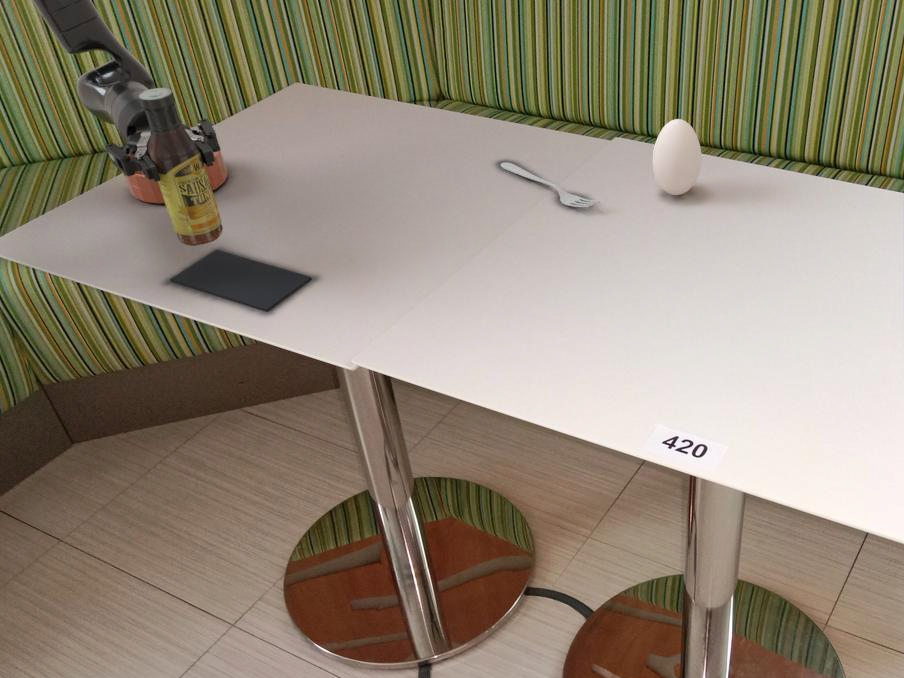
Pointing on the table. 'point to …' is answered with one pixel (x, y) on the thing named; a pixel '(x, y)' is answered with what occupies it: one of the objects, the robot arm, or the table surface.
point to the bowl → (152, 191)
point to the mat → (241, 280)
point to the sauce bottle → (180, 171)
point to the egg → (677, 157)
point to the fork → (564, 196)
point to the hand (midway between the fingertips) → (182, 166)
